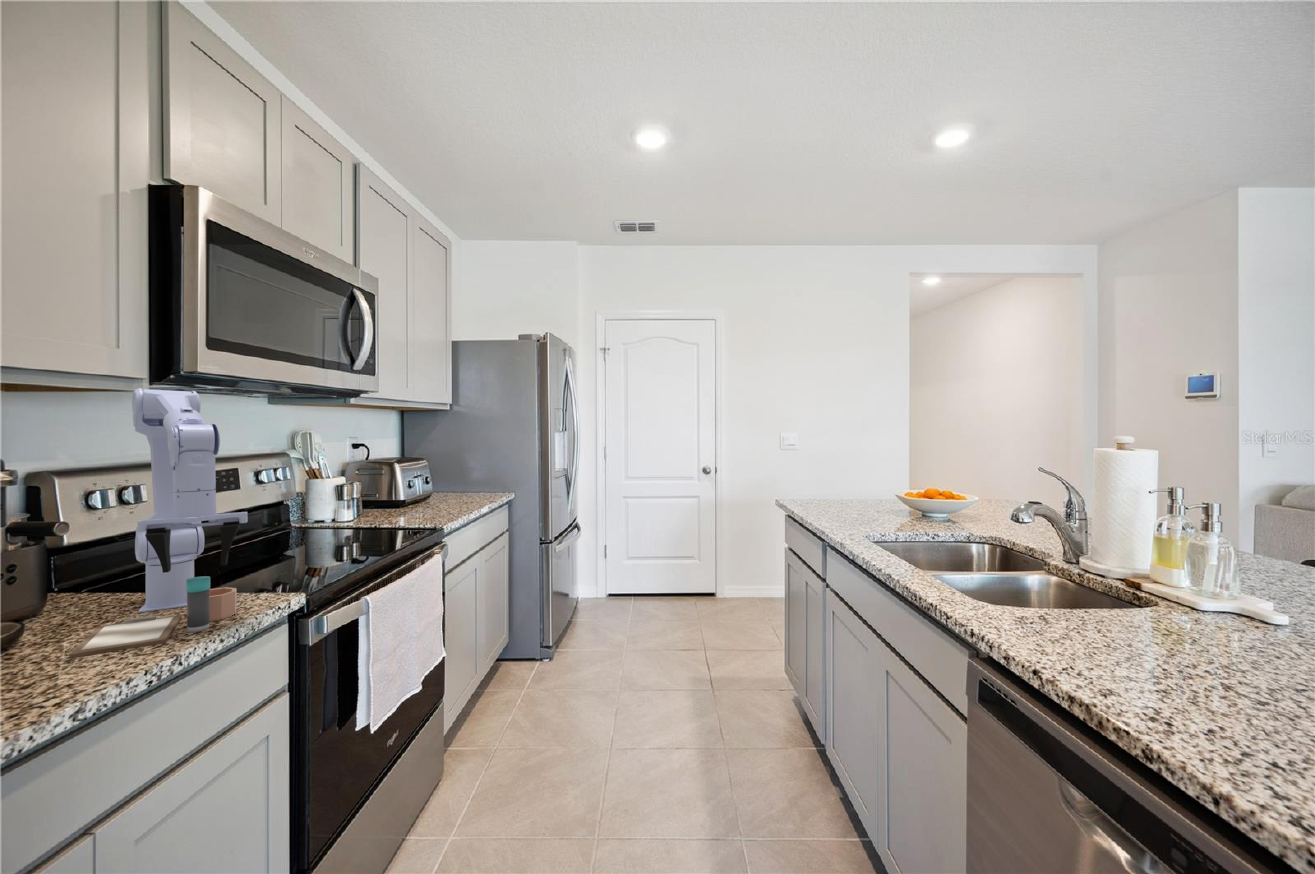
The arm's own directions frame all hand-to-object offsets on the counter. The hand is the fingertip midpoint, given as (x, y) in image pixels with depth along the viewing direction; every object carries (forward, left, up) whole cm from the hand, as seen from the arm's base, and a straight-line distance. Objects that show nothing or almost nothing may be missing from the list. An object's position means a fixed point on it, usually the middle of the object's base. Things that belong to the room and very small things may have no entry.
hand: (196, 568), depth 93 cm
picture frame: (-2, -9, -11) cm, 14 cm away
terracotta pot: (-7, +2, -11) cm, 13 cm away
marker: (0, 0, -11) cm, 11 cm away
